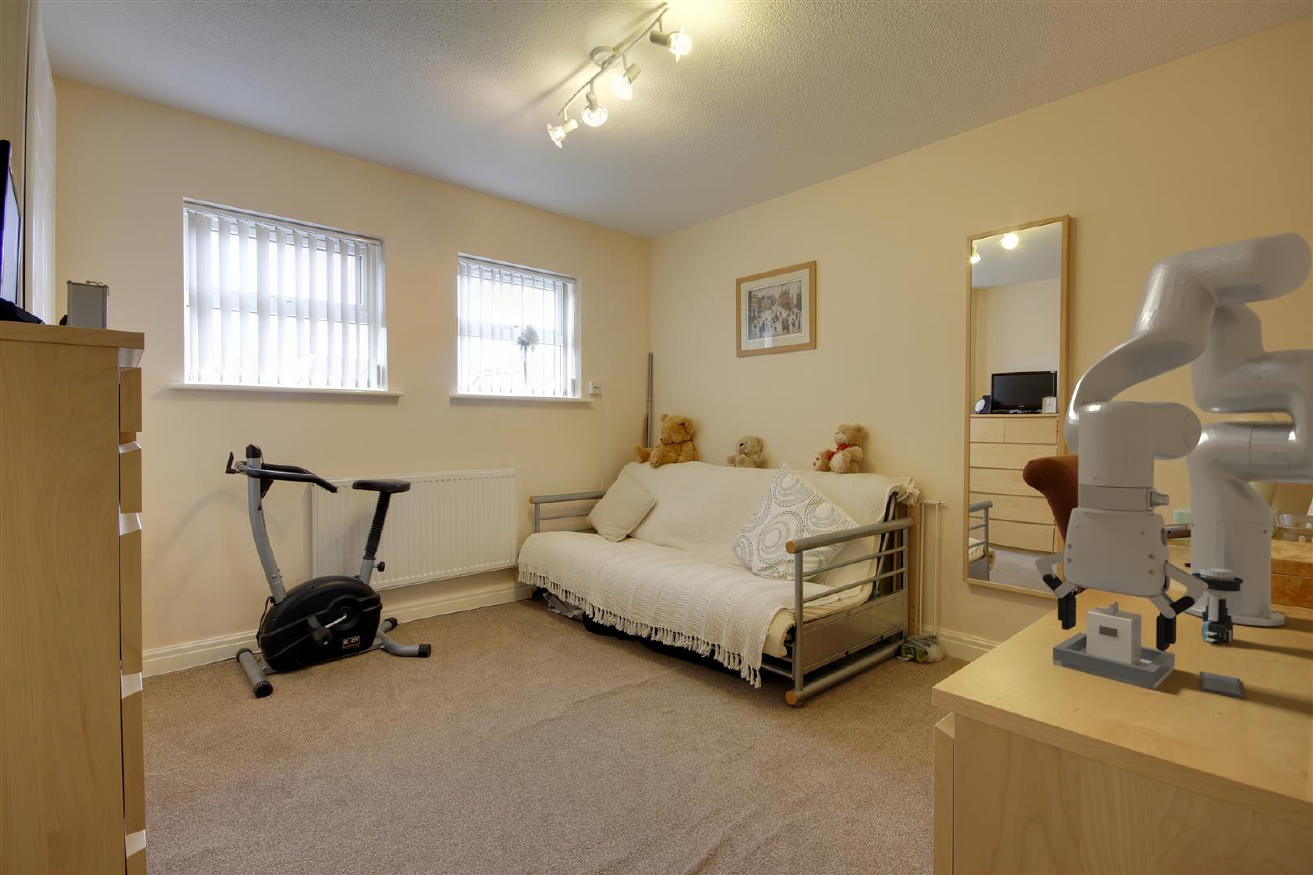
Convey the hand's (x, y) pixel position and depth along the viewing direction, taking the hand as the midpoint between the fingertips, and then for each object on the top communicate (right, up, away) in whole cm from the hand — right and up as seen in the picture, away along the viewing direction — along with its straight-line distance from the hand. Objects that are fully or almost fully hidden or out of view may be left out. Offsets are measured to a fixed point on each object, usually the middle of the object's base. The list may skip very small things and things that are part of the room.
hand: (1113, 637), depth 75 cm
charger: (0, -3, 0) cm, 3 cm away
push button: (+22, -4, +10) cm, 25 cm away
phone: (+8, -4, -6) cm, 11 cm away
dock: (0, -4, 0) cm, 4 cm away
